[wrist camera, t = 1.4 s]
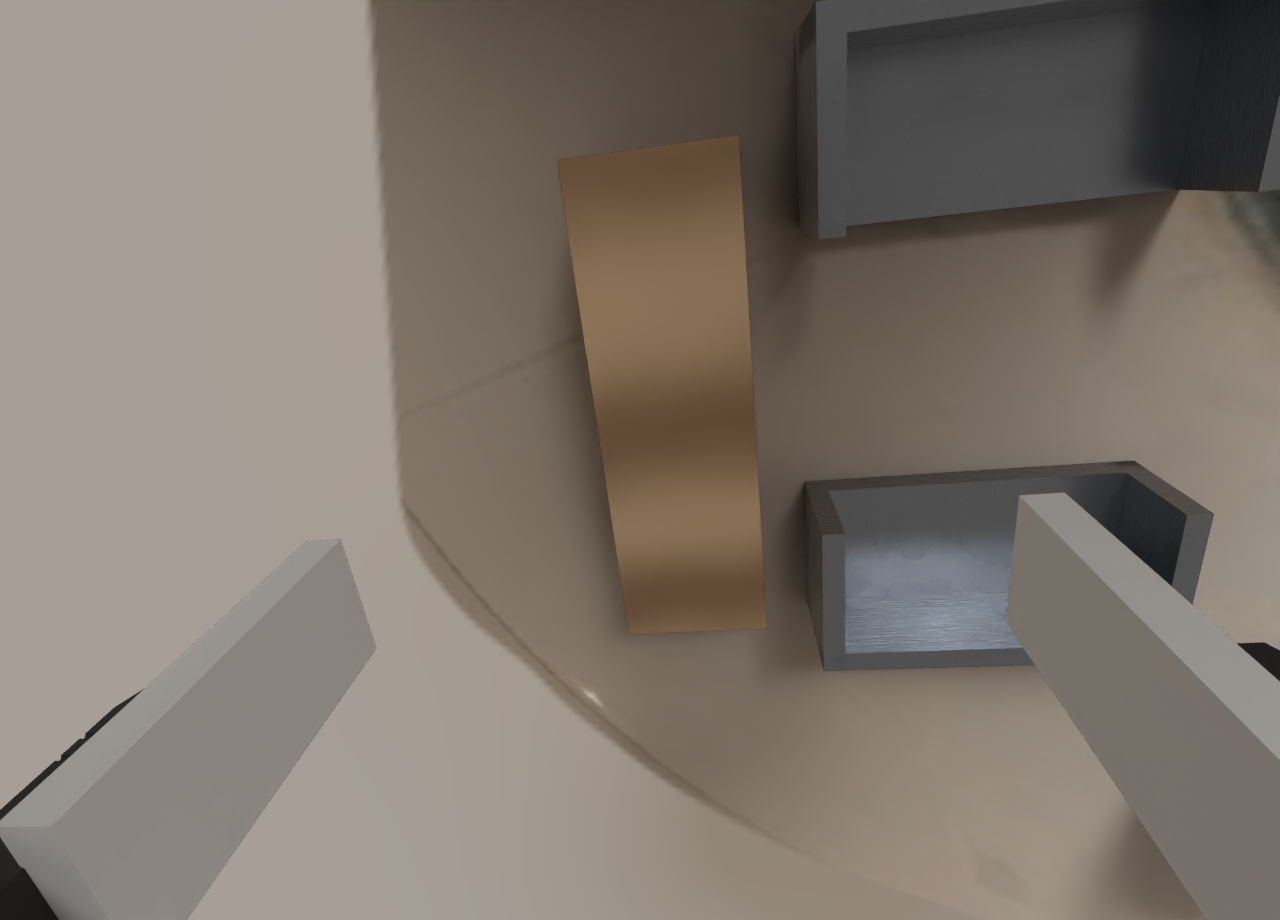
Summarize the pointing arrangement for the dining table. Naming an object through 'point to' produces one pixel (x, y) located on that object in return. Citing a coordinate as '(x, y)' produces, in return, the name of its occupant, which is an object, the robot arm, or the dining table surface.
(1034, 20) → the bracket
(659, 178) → the wooden block
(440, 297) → the dining table surface
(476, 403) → the dining table surface
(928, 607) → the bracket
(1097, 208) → the dining table surface
